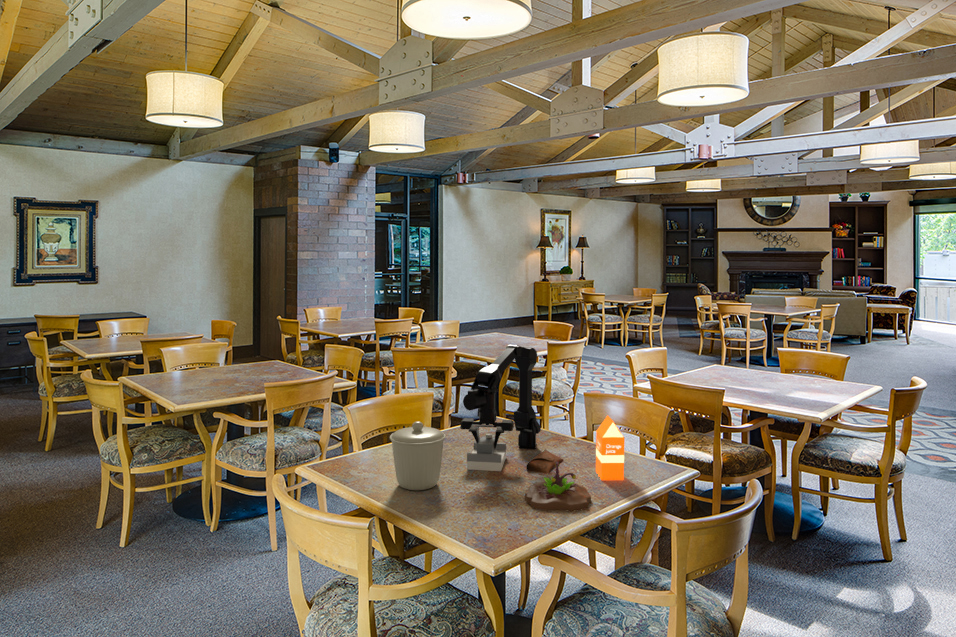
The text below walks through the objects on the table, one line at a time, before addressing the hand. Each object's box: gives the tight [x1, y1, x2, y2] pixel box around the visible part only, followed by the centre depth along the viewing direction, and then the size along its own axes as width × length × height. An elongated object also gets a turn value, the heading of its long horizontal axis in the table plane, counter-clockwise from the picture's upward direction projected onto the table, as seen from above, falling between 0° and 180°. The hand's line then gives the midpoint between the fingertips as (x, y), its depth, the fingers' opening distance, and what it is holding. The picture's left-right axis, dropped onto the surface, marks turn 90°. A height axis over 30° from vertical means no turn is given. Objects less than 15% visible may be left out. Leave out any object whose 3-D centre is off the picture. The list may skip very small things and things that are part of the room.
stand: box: [466, 441, 507, 472], centre depth 228 cm, size 12×16×6 cm
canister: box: [389, 420, 447, 491], centre depth 204 cm, size 18×18×21 cm
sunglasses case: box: [525, 448, 564, 474], centre depth 226 cm, size 18×7×7 cm, turn 155°
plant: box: [524, 462, 592, 512], centre depth 193 cm, size 20×20×11 cm
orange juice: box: [595, 415, 625, 481], centre depth 213 cm, size 8×9×20 cm
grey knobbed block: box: [477, 433, 497, 454], centre depth 227 cm, size 10×6×5 cm, turn 168°
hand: (487, 447), depth 227 cm, fingers closed on grey knobbed block, 5 cm apart
